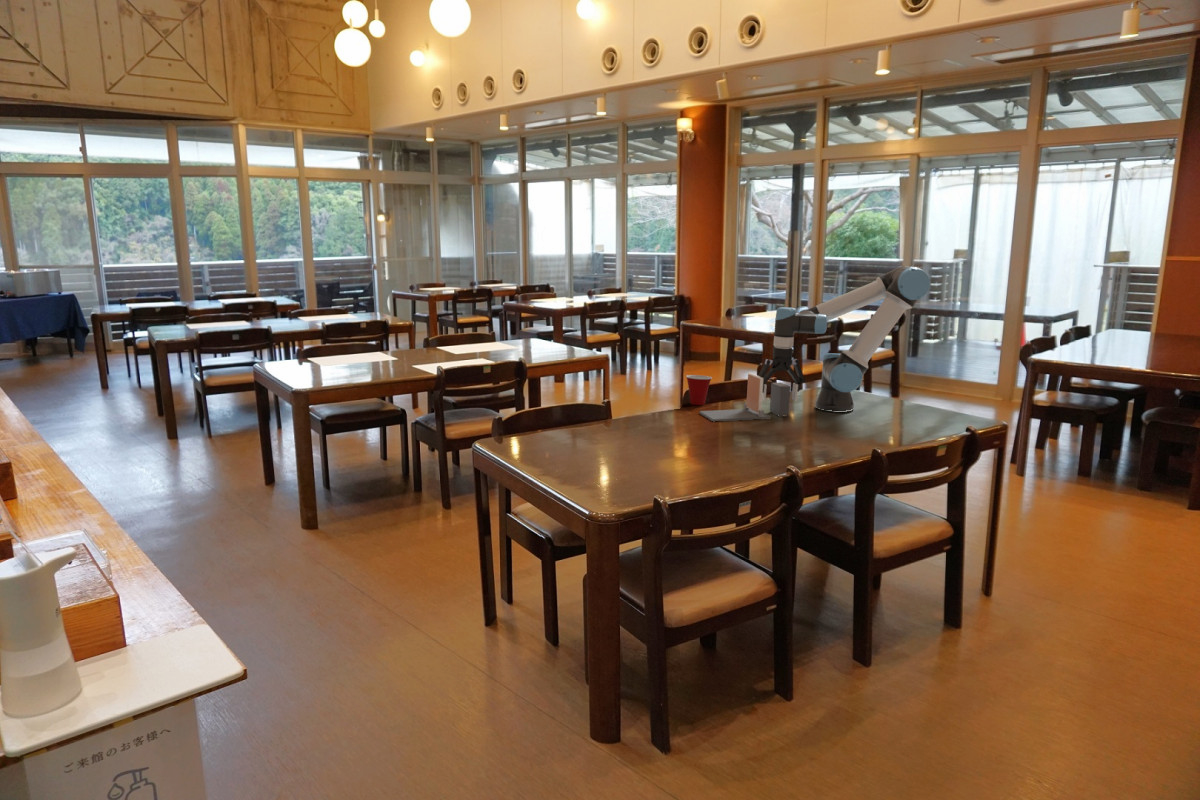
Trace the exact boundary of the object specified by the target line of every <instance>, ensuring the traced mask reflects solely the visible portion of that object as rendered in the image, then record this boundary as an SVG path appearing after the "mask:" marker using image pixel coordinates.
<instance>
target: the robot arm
mask: <svg viewBox="0 0 1200 800" xmlns="http://www.w3.org/2000/svg"><path fill="white" fill-rule="evenodd" d="M930 288H931V279H930V276H929V274H928V273H927V272H926V271H925V270H924V269H922V268H919V267H917V266H911V265H910V266H909V265H903V266H899V267H897V268H894V269H893V270H891V271H888V272H886V273H885V274H882V275H879V276H878V277H876V279H875V281H874V280H873V281H872V282H870V283H868V284H866V285H862V286H860V287H857V288H855V289H853V290H851V291H849V292H846V293H843V294H841V295H839V296H838V295H837V296H836V297H834V298H831V299H829V300H826V301H824V302H822V303H819V304H817V305H815V306H812V307H810V308H808V309H807V308H806V309H802V310H800V311H799V312H797V309H796V308H794V307H787V306H780V307H778V308H777V309H776V313H775V317H774V318H775V319H774V335H773V348H772V359H767V358H765V359H764V363H763V366H762V368H761V369H760V371H759V373H758V375H757V376H760V377H762V378H763V394H762V402H766V401H767V400H766V399H767V388H768V387H767V383H768V381H769V380H770V379H771V378H772V377H773V376H774V374H775V373H777V372H782V371H783V372H787V373H788V374H789V376H790V377H791V379H792V380H793V381H794V382H793V383H792V391H791V393H792V394H791V399H792V400H793V401H798V393H799V392H800V386H801V385H802V384H803V383H805V382H806V380H805V377H804V374H803V372H802V369H801V365H800V360H799V358H798V359H797V358H794V359H793V352H794V351H793V350H794V349H793V347H794V339H795V337H794V336H795V333H797V334H798V333H799V334H814V335H815V334H816V335H818V334H820V335H821V334H825V333H826V331H827V330H828V329H827V328H828V322H829V321H831V320H834V319H836V318H839V317H841V316H844V315H846V314H849V313H851V312H854V311H856V310H858V309H861V308H863V307H865V306H869V305H870V304H873V303H876V302H879V301H880V300H882V302H881V304H880V305H879V307H878V308H877V310H875V312H874V314H873V315H872V316H871V318H870V319H869V321H868V322H867V323H866V325H865V326H864V328H863V329H862V330H861V331H860V333H859V334H858V336H857V337H856V339H855V340H854V342H853V343H852V344H851V346H850V347H849V348H848V349H846V350H842V352H840V353H830V352H829V353H824V354H823V357H822V358H823V359H822V370H821V381H820V382H821V383H820V384H821V385H820V391H819V394H818V395H817V398H816V400H815V406H816V407H817V408H820V409H824V410H832V411H846V410H851V409H853V408H854V400H853V395H852V392H853V391H855V390H857V389H858V388H859V387H860V386H861V384H862V383H863V376H864V374H865V373H866V372H867V370H868V369H869V364H868V363H869V360H871V358H872V357H873V356H874V354H875V352H876V351H877V350H878V349H879V347H880V346H881V344H882V343H883V342H884V340H885V339H886V337H888V335H889V333H890V332H891V331H892V329H893V328H894V327H895V325H896V324H897V322H898V321H899V320H900V319H901V317H902V316H903V314H904V313H905V311H906V310H909V309H913V308H914V306H915V305H916V303H917V302H918V300H920V299H922V298H925V296H926V295H927V294H928V293H929V291H930ZM791 365H793V368H794V370H795V371H794V370H793V368H792V367H791ZM815 406H814V407H815ZM853 410H854V409H853Z"/></svg>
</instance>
